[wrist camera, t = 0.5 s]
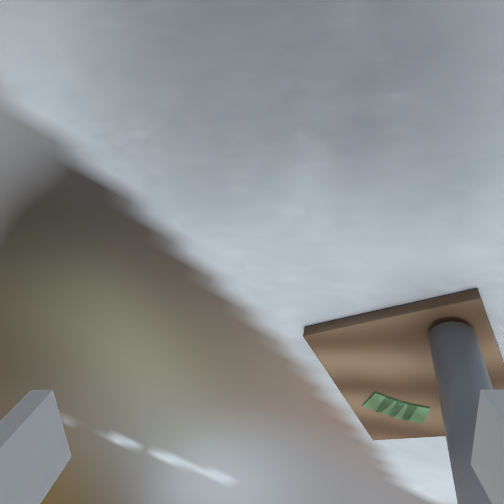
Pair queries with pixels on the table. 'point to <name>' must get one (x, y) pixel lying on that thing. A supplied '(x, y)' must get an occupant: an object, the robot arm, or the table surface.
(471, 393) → the white panel stand
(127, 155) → the table surface
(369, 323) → the board
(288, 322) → the table surface
